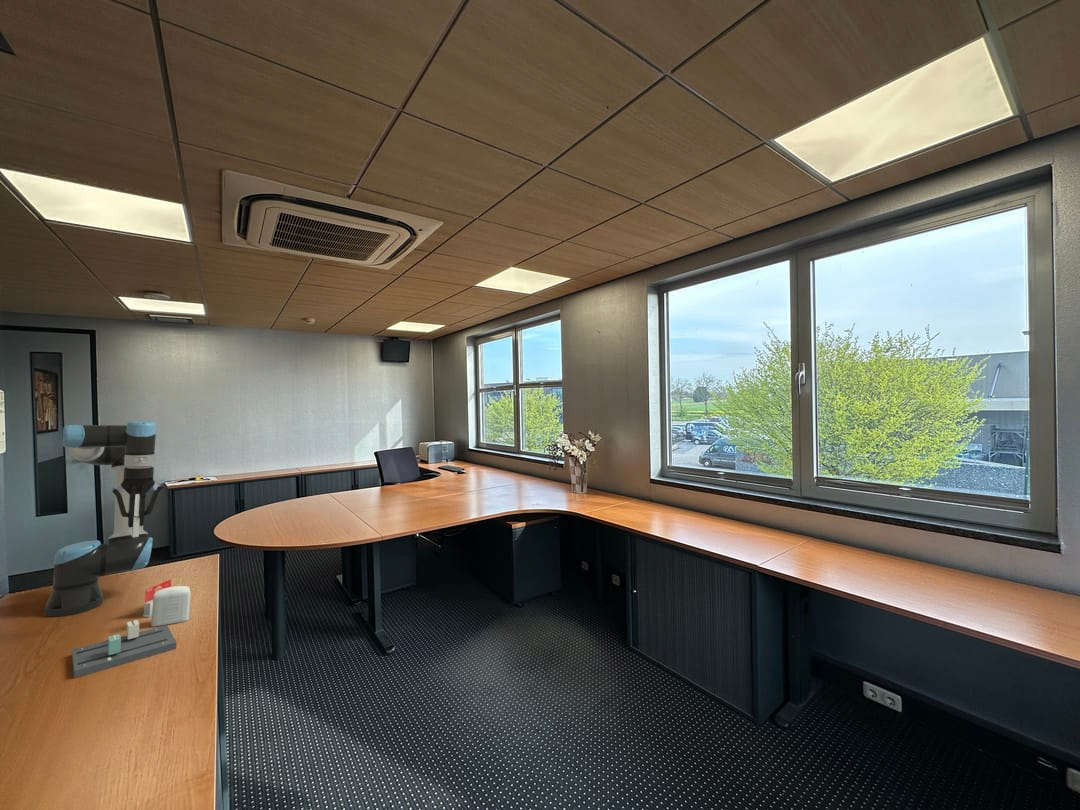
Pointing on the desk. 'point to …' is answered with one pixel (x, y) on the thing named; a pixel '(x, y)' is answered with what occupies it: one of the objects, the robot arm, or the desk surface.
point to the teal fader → (114, 644)
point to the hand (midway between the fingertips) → (135, 536)
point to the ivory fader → (132, 629)
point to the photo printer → (171, 605)
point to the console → (122, 651)
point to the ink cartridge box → (149, 597)
